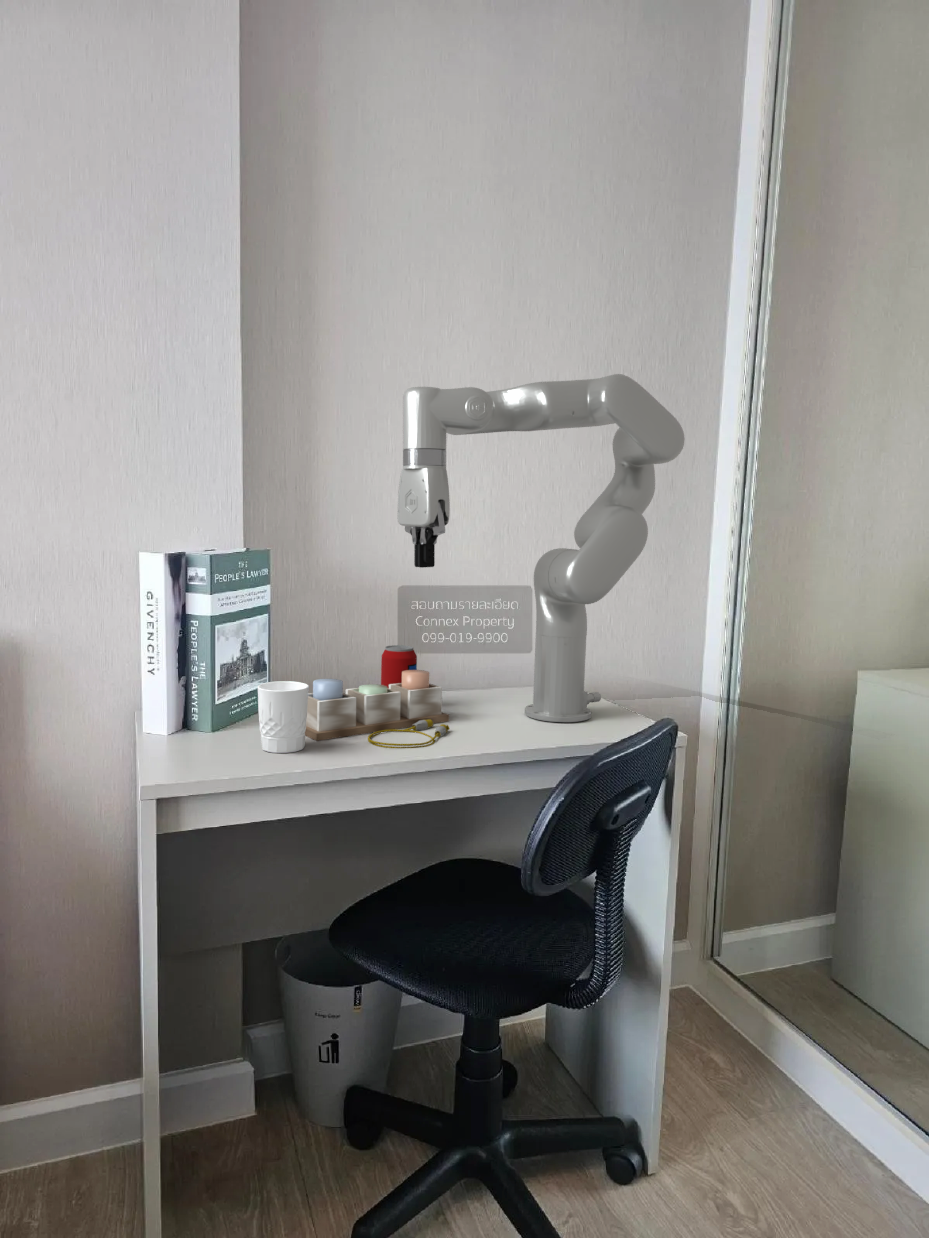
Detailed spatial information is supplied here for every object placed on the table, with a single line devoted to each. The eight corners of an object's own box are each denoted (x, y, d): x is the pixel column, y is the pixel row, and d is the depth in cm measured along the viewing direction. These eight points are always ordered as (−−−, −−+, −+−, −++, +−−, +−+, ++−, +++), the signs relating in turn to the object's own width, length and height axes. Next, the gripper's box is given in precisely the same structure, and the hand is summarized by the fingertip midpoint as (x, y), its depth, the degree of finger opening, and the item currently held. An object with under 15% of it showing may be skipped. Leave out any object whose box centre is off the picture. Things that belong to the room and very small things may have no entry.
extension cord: (469, 744, 150) (469, 732, 150) (384, 755, 142) (384, 742, 142) (434, 727, 160) (434, 716, 160) (352, 737, 152) (353, 725, 152)
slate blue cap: (333, 705, 156) (333, 677, 156) (347, 711, 152) (348, 682, 152) (307, 709, 153) (307, 680, 153) (321, 714, 149) (321, 685, 149)
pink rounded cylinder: (418, 695, 167) (419, 668, 167) (434, 700, 163) (434, 673, 163) (396, 698, 164) (396, 671, 164) (411, 703, 160) (411, 675, 160)
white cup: (308, 741, 147) (309, 681, 146) (307, 754, 139) (307, 690, 138) (259, 741, 146) (259, 681, 144) (255, 754, 138) (255, 690, 137)
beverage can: (420, 711, 170) (422, 649, 169) (386, 714, 168) (387, 650, 166) (409, 704, 177) (410, 644, 175) (376, 706, 174) (377, 645, 173)
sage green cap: (377, 710, 162) (377, 683, 161) (392, 715, 158) (392, 688, 158) (353, 713, 159) (353, 685, 158) (367, 719, 155) (368, 690, 154)
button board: (420, 711, 171) (421, 679, 170) (448, 721, 163) (449, 687, 163) (291, 729, 154) (291, 693, 153) (316, 740, 147) (316, 703, 146)
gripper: (383, 461, 159) (383, 565, 161) (431, 458, 147) (431, 570, 149) (418, 463, 163) (418, 563, 166) (468, 460, 152) (467, 568, 154)
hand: (424, 566), depth 158 cm, fingers closed
